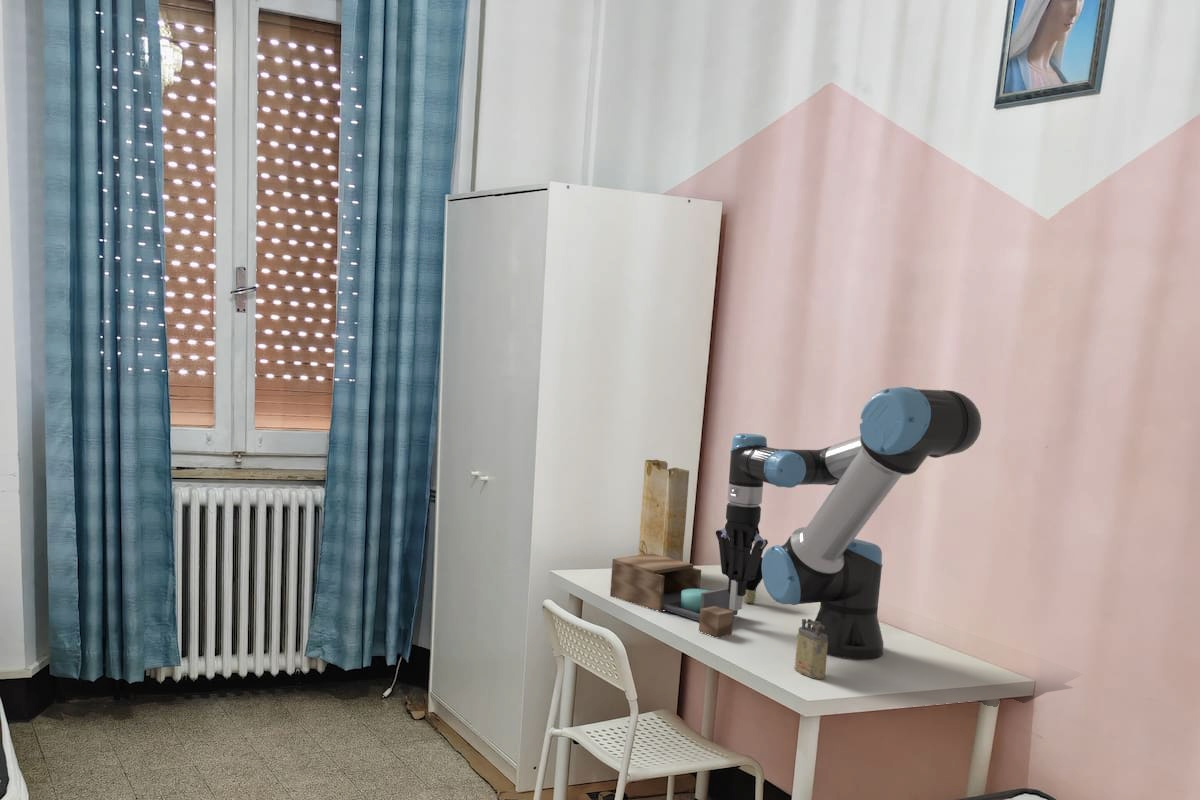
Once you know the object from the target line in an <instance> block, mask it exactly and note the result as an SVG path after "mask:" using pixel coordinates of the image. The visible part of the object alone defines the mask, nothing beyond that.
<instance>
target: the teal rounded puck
mask: <svg viewBox="0 0 1200 800" xmlns="http://www.w3.org/2000/svg"><path fill="white" fill-rule="evenodd" d="M709 591H710V590H707V589H701V588H700V589H685V590H682V592H681V606H680V607H681V608H682V609H685V610H688V611H692V612H695V613H700V606H701V593H703V592H709Z"/></svg>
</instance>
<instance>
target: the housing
mask: <svg viewBox="0 0 1200 800" xmlns="http://www.w3.org/2000/svg"><path fill="white" fill-rule="evenodd" d="M611 564H612V565H611V576H610V577H611V579H610V591H609V597H612V598H615V597H616V598H615V599H618V598H619V600H621V599H622V601H624V600H625V601H624V602H627V601H628V603H630V602H632V603H631V604H634V603H635V604H634V605H637V604H638V605H637V606H640V605H641V606H640V607H643V606H644V607H643V608H646V607H648V608H647V609H649V608H650V609H649V610H652V609H654V610H653V611H655V610H658V611H661V612H664V611H663V609H662V604H663V595H665V594H670V593H675V592H680V593H681V592H682V590H685V589H701V580H702V578H701V577H702V569H699V568H695V567H694V563H693V564H692V563H689V562H685V561H679V560H675V559H671V558H668V557H664V556H660V555H657V554H653V553H651V554H644V555H631V556H624V557H617V558H612V563H611ZM658 611H657V612H658Z"/></svg>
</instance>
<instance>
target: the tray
mask: <svg viewBox="0 0 1200 800" xmlns="http://www.w3.org/2000/svg"><path fill="white" fill-rule="evenodd" d="M708 591H709V592H703V593H701V606H700V609H703V608H708V607H713V606H717V607H720V608H724V609H727V610H730V609H729V602H730V593H729V592H728V587H725V588H719V589H715V590H708ZM680 606H681V593H680V592H675V593H670V594H665V595H663V604H662V609H663V610H666V611H667V612H670V613H673V614H676V615H679V616H683V617H685V618H688V619H691V620H695V621H696V622H697V621H698V622H699V621H700V613H695V612H692V611H688V610H685V609H682V608H681V607H680ZM666 611H665V612H666ZM730 611H733V610H730ZM738 613H739V610H735V611H733V617H734V616H737V615H738Z"/></svg>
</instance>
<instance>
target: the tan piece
mask: <svg viewBox="0 0 1200 800" xmlns="http://www.w3.org/2000/svg"><path fill="white" fill-rule="evenodd" d="M668 465H669V464H668V462H667V461H665V460H659V459H647V460H645V461H644V473H643V483H642V484H643V486H642V497H641V498H642V499H641V510H640V512H641V513H640V525H639V529H640V530H639V540H638V541H639V542H638V555H644V554H651V553H653V554H657V555H660V556H664V557H668V558H671V559H675V560H679V561H683V559H684V544H685V536H686V523H687V522H686V521H687V509H688V496H689V481H690V480H689V479H690V470H689V469H688V470H687V469H684V468H679V467H671V468H668ZM683 562H684V561H683Z"/></svg>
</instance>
